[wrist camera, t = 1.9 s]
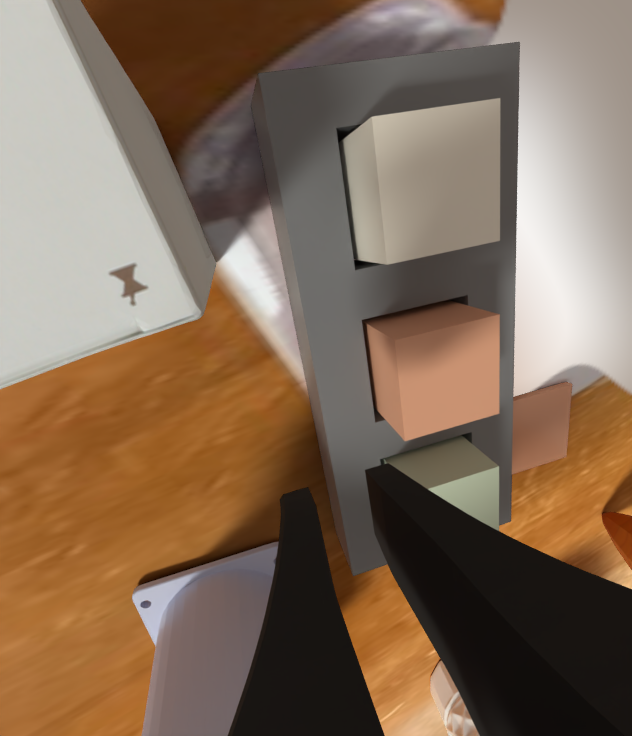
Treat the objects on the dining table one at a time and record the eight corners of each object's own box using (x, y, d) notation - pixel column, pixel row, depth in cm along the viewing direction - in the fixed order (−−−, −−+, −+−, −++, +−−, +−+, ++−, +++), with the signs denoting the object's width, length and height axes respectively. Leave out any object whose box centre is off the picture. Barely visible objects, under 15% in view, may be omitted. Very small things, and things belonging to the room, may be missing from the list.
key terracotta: (449, 381, 18) (499, 413, 15) (370, 403, 17) (404, 441, 14) (445, 299, 17) (499, 314, 13) (359, 319, 16) (394, 340, 13)
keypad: (476, 487, 23) (510, 521, 20) (336, 532, 22) (353, 576, 19) (466, 76, 16) (520, 41, 13) (250, 105, 14) (258, 73, 11)
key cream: (442, 240, 16) (499, 240, 12) (351, 258, 15) (386, 264, 12) (437, 129, 14) (500, 97, 11) (336, 145, 14) (371, 116, 10)
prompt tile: (561, 453, 24) (566, 456, 24) (505, 471, 23) (509, 475, 23) (566, 381, 22) (572, 384, 22) (506, 399, 21) (511, 401, 21)
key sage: (454, 491, 20) (498, 539, 17) (385, 513, 20) (417, 567, 17) (451, 427, 19) (499, 466, 16) (377, 449, 18) (410, 494, 15)
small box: (155, 116, 14) (-4, -177, 4) (219, 267, 16) (217, 316, 6) (-73, 189, 13) (-976, 45, 3) (26, 338, 15) (-328, 526, 5)
